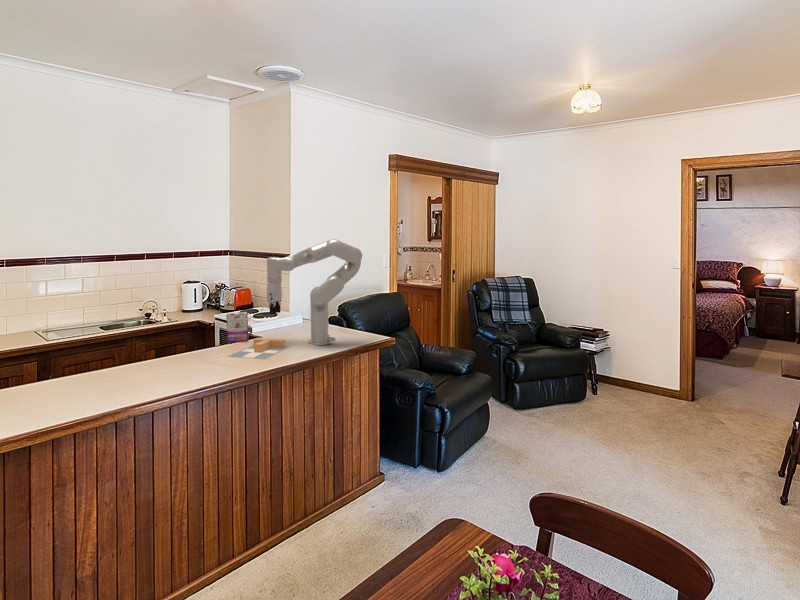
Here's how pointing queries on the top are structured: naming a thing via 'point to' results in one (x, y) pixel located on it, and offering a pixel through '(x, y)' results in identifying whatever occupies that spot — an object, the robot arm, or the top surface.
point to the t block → (267, 344)
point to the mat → (257, 353)
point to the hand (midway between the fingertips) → (275, 313)
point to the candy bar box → (237, 327)
